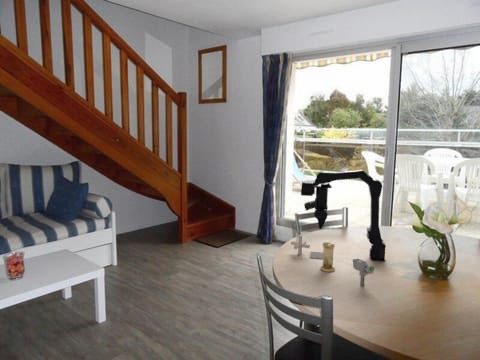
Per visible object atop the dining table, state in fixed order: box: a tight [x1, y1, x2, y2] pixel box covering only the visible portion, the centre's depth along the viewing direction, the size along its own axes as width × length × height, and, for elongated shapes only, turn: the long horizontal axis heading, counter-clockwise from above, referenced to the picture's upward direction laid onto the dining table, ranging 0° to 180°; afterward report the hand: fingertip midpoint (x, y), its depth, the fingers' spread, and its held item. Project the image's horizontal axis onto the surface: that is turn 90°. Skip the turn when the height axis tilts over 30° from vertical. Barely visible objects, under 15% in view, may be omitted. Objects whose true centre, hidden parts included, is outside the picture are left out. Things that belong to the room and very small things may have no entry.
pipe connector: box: [290, 234, 311, 256], centre depth 187 cm, size 10×10×10 cm
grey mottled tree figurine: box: [352, 258, 375, 287], centre depth 150 cm, size 3×10×10 cm, turn 27°
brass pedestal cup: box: [320, 242, 336, 273], centre depth 167 cm, size 6×6×12 cm
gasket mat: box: [309, 251, 323, 260], centre depth 185 cm, size 9×9×1 cm
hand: (320, 226), depth 186 cm, fingers open, 9 cm apart
